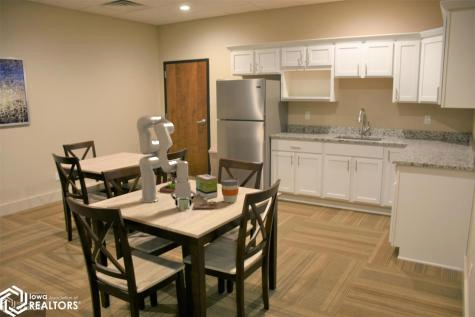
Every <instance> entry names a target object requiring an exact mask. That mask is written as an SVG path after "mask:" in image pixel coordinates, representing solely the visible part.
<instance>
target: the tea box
mask: <svg viewBox="0 0 475 317" xmlns="http://www.w3.org/2000/svg"><path fill="white" fill-rule="evenodd" d="M195 193H196V195H195V196H199V197H202V198H207V200H209V199H212V198H213V197H214V198H218V177H216V176H214V175H211V174H208V173H206V174H201V175H200V174H198V175H195ZM208 198H209V199H208Z"/></svg>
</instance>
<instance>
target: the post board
mask: <svg viewBox="0 0 475 317" xmlns="http://www.w3.org/2000/svg"><path fill="white" fill-rule="evenodd" d="M216 204H217V202H216V201H213V206H211V201H208V199H207V198H204V197H202V201H195V202H194V205H193V210H199V211H201V210H203V211H204V210H216Z"/></svg>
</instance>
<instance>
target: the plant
mask: <svg viewBox="0 0 475 317" xmlns="http://www.w3.org/2000/svg"><path fill="white" fill-rule="evenodd" d="M169 181H170V182H169ZM176 182H177V181H176V180H175V178H174V177H173V176H172V177H170V178H167V184H166V185H164V186H162V187H160V188H159V192H161V193H164V194H171V193H173V192H174V191H175V184H176Z"/></svg>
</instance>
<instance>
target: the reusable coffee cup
mask: <svg viewBox="0 0 475 317" xmlns="http://www.w3.org/2000/svg"><path fill="white" fill-rule="evenodd" d="M220 185H221V188H220V189H221V195H222V197H223V202H224V203H227V202H230V203H231V202H233V203H236V202H237V200H238V195H239V185H240V181H239V178H233V177H229V178H222V179H221V181H220Z"/></svg>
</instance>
